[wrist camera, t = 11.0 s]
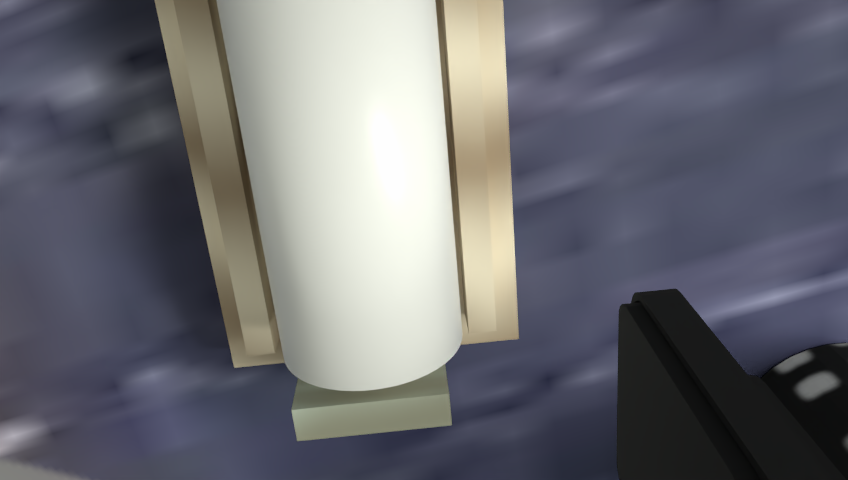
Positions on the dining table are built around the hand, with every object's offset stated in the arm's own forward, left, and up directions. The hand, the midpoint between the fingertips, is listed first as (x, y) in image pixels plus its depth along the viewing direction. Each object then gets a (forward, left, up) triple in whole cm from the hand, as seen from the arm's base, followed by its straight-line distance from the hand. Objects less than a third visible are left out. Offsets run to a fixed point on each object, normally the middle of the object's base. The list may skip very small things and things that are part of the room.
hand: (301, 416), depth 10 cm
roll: (0, 0, -16) cm, 16 cm away
